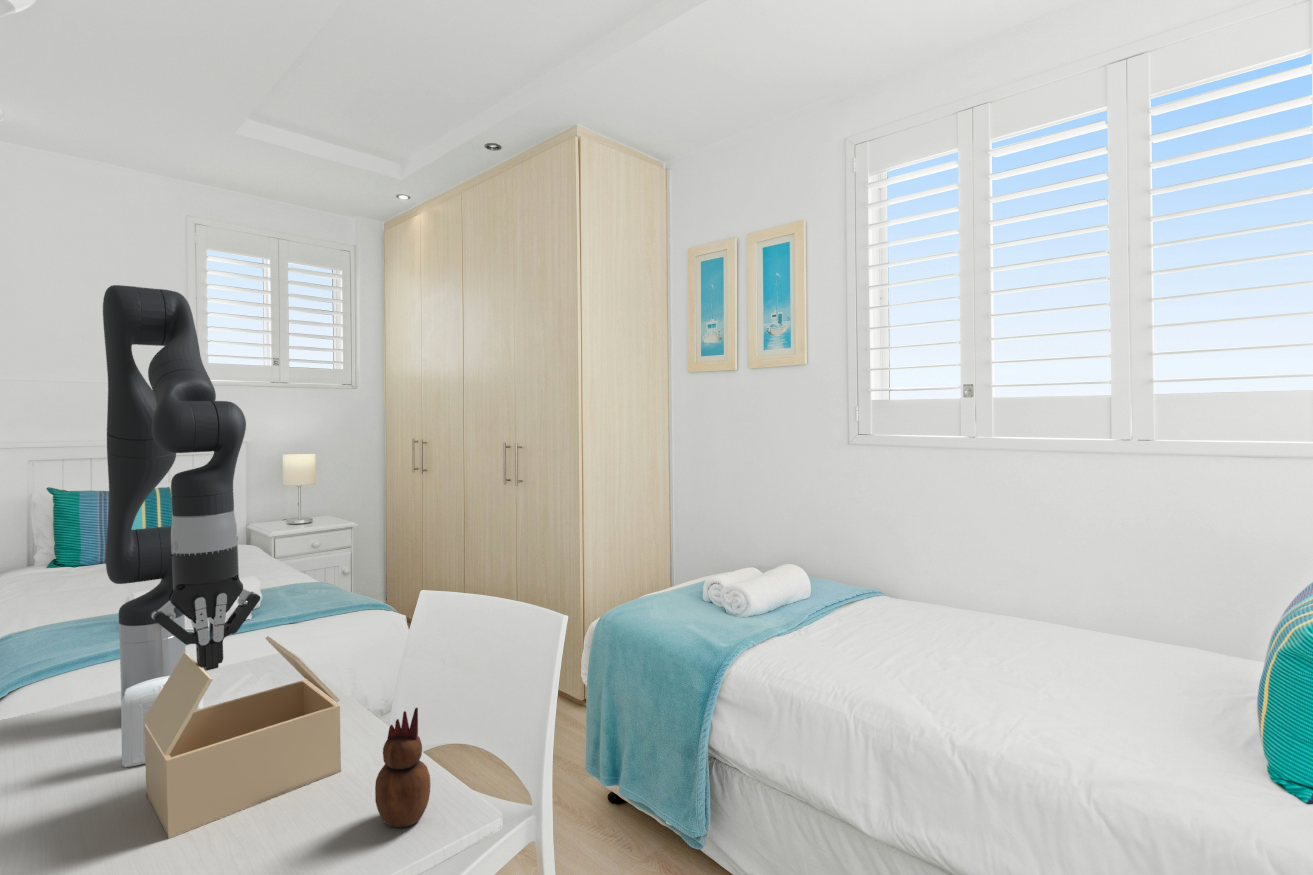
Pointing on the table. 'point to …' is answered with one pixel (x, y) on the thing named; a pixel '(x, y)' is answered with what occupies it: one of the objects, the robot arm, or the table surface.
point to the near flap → (177, 702)
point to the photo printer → (138, 718)
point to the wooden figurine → (402, 776)
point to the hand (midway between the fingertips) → (210, 667)
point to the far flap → (302, 669)
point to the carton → (243, 755)
